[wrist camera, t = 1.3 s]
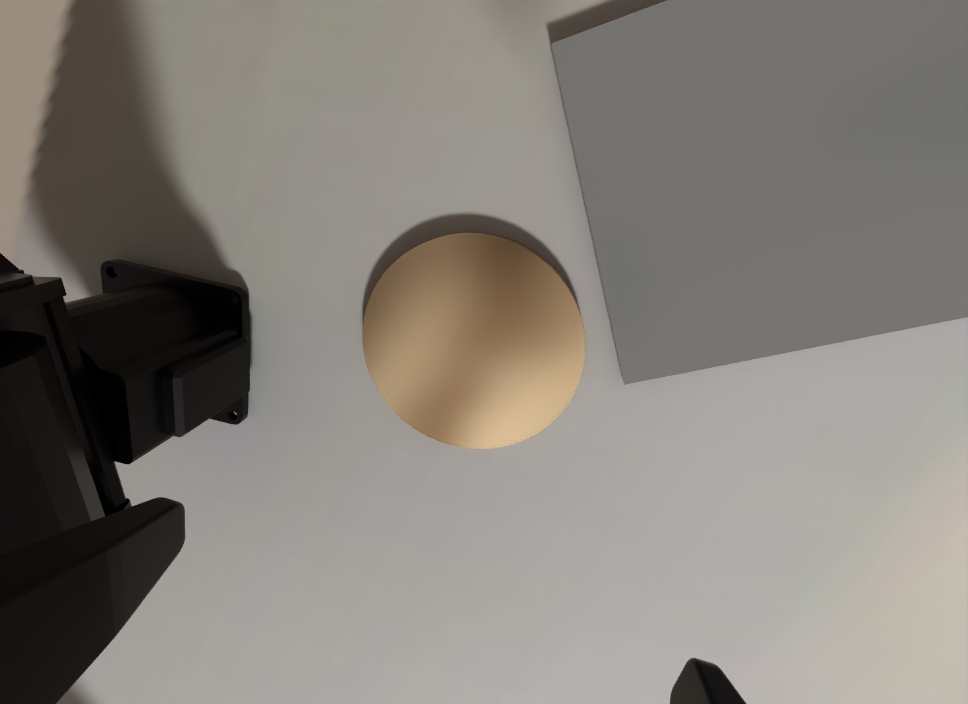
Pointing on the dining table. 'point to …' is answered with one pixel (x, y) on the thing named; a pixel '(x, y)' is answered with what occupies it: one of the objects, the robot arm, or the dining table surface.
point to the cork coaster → (474, 340)
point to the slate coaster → (771, 173)
